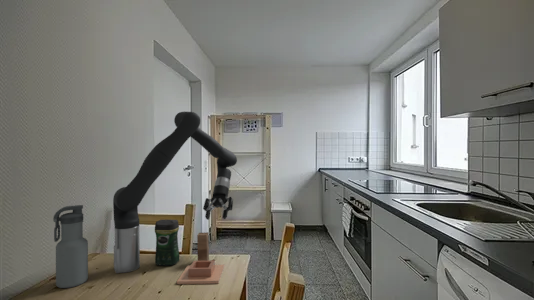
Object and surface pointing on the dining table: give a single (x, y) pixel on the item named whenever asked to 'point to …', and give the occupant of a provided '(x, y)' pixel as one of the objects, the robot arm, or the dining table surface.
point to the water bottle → (70, 248)
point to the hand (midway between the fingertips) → (215, 218)
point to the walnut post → (203, 246)
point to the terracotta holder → (201, 273)
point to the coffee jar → (166, 242)
